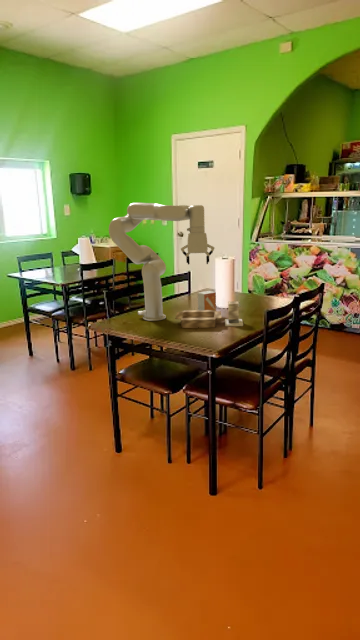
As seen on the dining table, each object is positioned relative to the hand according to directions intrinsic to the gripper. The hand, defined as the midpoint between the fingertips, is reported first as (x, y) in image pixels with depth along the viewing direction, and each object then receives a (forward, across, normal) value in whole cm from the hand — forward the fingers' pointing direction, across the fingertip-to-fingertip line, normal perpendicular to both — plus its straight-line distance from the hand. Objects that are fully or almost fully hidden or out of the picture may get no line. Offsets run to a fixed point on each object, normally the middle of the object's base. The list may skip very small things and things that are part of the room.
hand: (197, 264), depth 225 cm
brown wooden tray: (+30, 0, -7) cm, 31 cm away
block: (+29, +18, -7) cm, 35 cm away
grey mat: (+30, +18, -7) cm, 36 cm away
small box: (+31, +4, +11) cm, 33 cm away
